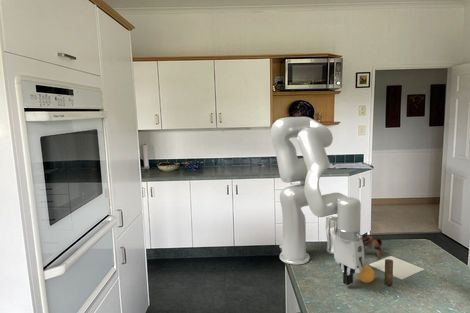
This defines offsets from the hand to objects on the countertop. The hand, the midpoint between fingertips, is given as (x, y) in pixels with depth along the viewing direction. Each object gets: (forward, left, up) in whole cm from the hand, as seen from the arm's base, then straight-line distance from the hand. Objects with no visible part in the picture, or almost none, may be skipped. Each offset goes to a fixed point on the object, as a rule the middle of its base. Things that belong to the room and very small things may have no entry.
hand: (348, 283), depth 113 cm
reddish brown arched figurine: (-14, +30, -2) cm, 33 cm away
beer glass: (-24, +18, -2) cm, 30 cm away
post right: (+7, +13, -2) cm, 15 cm away
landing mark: (0, +27, -2) cm, 27 cm away
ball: (+1, +8, +2) cm, 8 cm away
